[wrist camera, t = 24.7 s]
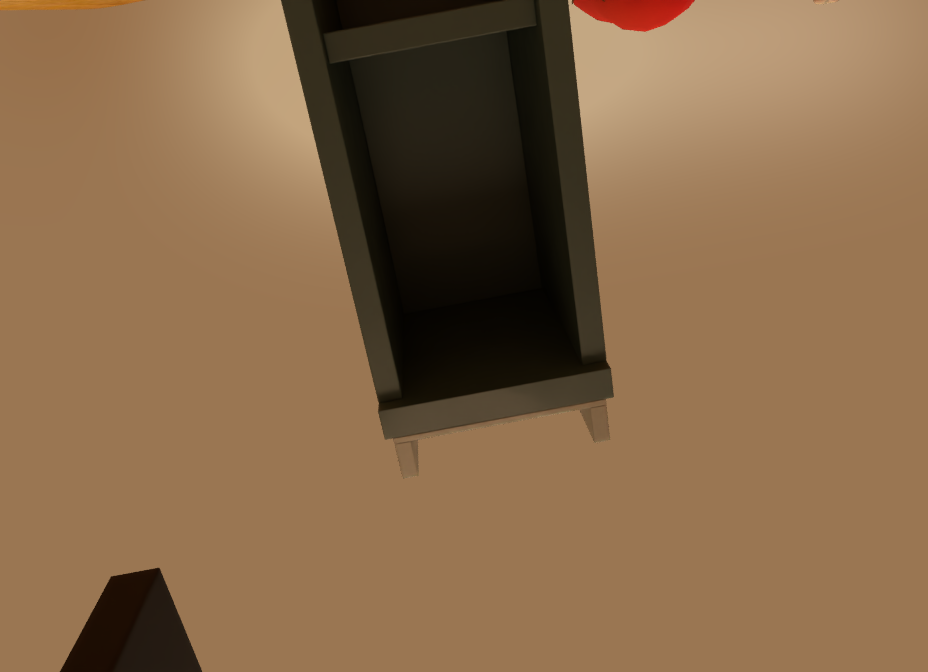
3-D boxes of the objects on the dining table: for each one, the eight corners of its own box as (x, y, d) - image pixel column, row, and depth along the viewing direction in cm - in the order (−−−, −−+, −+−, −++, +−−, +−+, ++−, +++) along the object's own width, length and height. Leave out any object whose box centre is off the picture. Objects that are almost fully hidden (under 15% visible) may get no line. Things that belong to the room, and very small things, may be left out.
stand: (245, -132, 34) (394, 480, 47) (552, -189, 34) (618, 438, 47) (298, -80, 51) (397, 360, 63) (504, -119, 51) (562, 330, 63)
